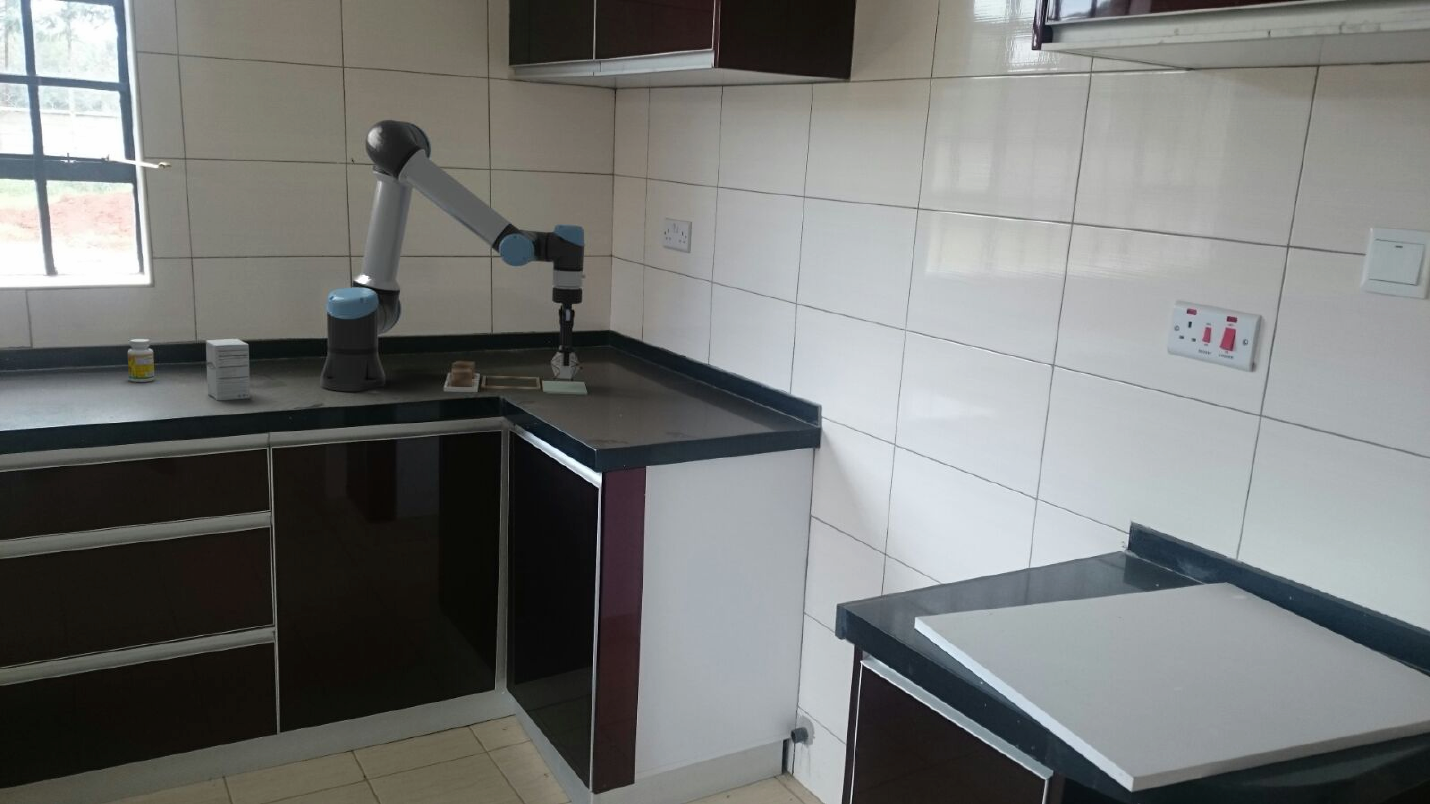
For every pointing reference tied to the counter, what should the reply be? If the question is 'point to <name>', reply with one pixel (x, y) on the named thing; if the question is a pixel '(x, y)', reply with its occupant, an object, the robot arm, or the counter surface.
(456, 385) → the block front
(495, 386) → the oak frame
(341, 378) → the robot arm
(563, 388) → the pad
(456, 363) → the block back
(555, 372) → the game die
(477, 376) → the dish back
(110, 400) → the counter surface
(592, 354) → the counter surface
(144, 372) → the supplement bottle
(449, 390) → the dish front
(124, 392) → the counter surface
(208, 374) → the supplement box
